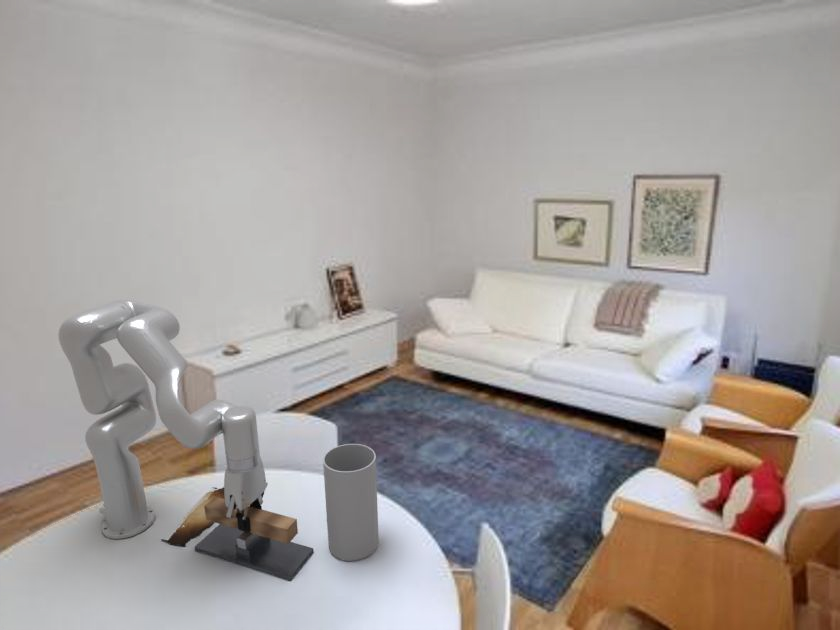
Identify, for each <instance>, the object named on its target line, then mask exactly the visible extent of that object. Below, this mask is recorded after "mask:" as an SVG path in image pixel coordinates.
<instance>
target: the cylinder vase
mask: <svg viewBox="0 0 840 630" xmlns="http://www.w3.org/2000/svg"><path fill="white" fill-rule="evenodd" d="M322 467H323V480H324V481H323V482H324V493H325V494H324V495H325V498H324V499H325V509H326V512H325V513H326V526H327V539H328V540H327V541H328V548H329V551H330V553H331V554H332V555H333V556H334V557H336V558H337V559H339V560H342V561H349V562H352V561H354V562H355V561H360V560H363V559H365V558H368V557H369V556H370V555H371V554H372V553H375V551H376V550H377V547H378V545H379V519H378V517H379V512H378V510H379V509H378V486H377V485H378V484H377V482H378V481H377V480H378V479H377V457H376V453H375V451H374V449H373V448H372V447H370V446H368V445H365V444H360V443H345V444H342V445H337V446H334V447H332V448H331V449H329V450H328V451H326V453H325V454H324V455H323V458H322Z"/></svg>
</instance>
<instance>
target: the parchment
mask: <svg viewBox="0 0 840 630" xmlns="http://www.w3.org/2000/svg"><path fill="white" fill-rule="evenodd" d="M212 489H214V490H213V491H210V492H206V493H205V494H204V495H203V496H202V497H201V498H200V499H199V500H198V501H197V502H196V503H195V504H194V505H193V507H191V509H190V510H189V511H187V513H186V514H185V515H184V516H183V522H181V524H180V526H179V527H177V529H175V531H174V532H173V533H172V534H171V536H170V537H169V538H168V539H163V538H162V539H161V540H162V541H163V542H166V543H167V544H170V545H171V546H172V545H173V546H180V547H186V546H187V544H188V543H190V541H191V540H194V539H196V538H197V539H198V538H199V537H200V536H201V534H203V532H204V531H206V530H207V529H210V527H211V526H212V525H213V523H214V522H212V521H209V520H206V515H205V508H204V506H205V505H206V504H207V503H209V502H210V501H211V500H212V499H213V498H215V497H218V498H222V499H225V495H224V486H222V487H221V488H218V487H212Z"/></svg>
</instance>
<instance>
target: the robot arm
mask: <svg viewBox="0 0 840 630" xmlns="http://www.w3.org/2000/svg"><path fill="white" fill-rule="evenodd" d="M180 330H181V327H180V323H179V320H178V319H177V317H176V316H175V315H174V314H173V313H172V312H171V311H170V310H168V309H166V308H163V307H160V306H157V305H153V304H148V303H145V302H141V301H135V300H131V299H123V300H122V299H121V300H116V301H113V302H109V303H106V304H104V305H100V306H96V307H92V308H90V309H88V310H84V311H81V312H79V313H76V314H73V315H72V316H70V317H69V318H67V319H65V320H64V321H63V322H62V323H61V325H60V327H59V329H58V342H59V345H60V347H61V350H62V351H63V353H64V355H65V357H66V358H67V360H68V362H69V364H70V366H71V371H72V374H73V377H74V380H75V383H76V384H75V385H76V387H77V390H78V395H79V398H80V400H81V403H82V406H83V407H84V409H85V410H86V411H87V412H88V413H89V414H91V415H94V416H95V415H97V416H98V415H103V414H105V413H108V412H110V413H108V414H106V415H104V416H102V417H100V418H99V419H97V420H96V421H94V422H93V423H92V424H91V425H90V426H89V427H88V428H87V430H86V431H85V435H84V436H85V438H84V439H85V440H84V441H85V444H86V446H87V448H88V451H89V452H90V454H91V456H92V459H93V462H94V466H95V469H96V473H97V478H98V482H99V488H100V491H101V492H100V493H101V497H102V502H103V505H102V507H100V509H99V511H98V512H99V514H102V515H104V518H105V520H104V521H103V523H102V525H101V531H102V534H103V536H105V537H106V538H108V539H113V540H121V539H126V538H132V537H133V536H136V535H138V534H140V533H142V532H144V531H145V530H147V529H149V527H151V526H152V525H153V523H154V522H155V518H156V512H155V509H154V508H152V507H150V506H148V505H147V499H146V494H145V488H144V483H143V478H142V472H141V467H140V461H139V458H138V457H137V455H136V454H135V453H133V452H131V451H130V449H129V448H130V446H131V445H132V444H134V443H135V442H136V441H138V440H140V439H141V438H143V437H144V436H146V435H147V434H149V433H150V432H151V431H153V429H154V428H155V426H156V423H157V416H156V415H157V414H156V410H155V405H154V401H153V398H152V394H151V390H150V385H149V382H148V379H150V381H151V382H152V384H153V385H154V387H155V403H156V407H157V412H158V416H159V418H160V420H161V422H162V424H163V426H164V427H165V428H166V429H167V431H169V433H170V434H171V435H172V436H173V437H174V438H175V439H176V440H177V441H178V442H179V443H180V444H181V445H182V446H184V447H186V448H188V449H191V450H197V449H202V448H203V447H205V446H206V445H207V444H209V443H210V442H212V441H213V440H214V439H215V438H218V436H219V435H222V436H223V445H224V452H225V453H224V454H225V461H226V469H225V471H224V480H223V482H224V483H223V484H224V485H223V487H224V495H225V505H226V507H228V512H227V515H226V516H227V517H229V518H237V522H238V529H239V530H241V531H244V532H248V533H249V532H250V531H251V530H250V521H249V517H247V507H248V506H250V507H254V508H258V509H262V507H263V506H262V505H263V503H264V500H263V498H264V495H265V491H266V488H267V487H268V481H267V480H266V479H267V477H266V473H265V472H266V471H265V467H264V463H263V460H262V457H261V454H260V453H261V452H260V443H259V441H260V440H259V433H258V424H257V422H258V421H257V415H256V412H255V410H254V409H253V408H251V407H249V406H245V405H243V406H239V405H238V406H237V405H235V404H233V403H230V402H229V401H226V400H223V399H213V400H212V401H210V402H208V403H206V404H205V405H203V406H202V407H200V408H199V409H197V410H196V411H194V412H192V413H191V414H190V413H189V412H188V411H187V409H186V408H185V406H184V405H183V403H182V402H181V398H180V395H179V385H180V381H181V379H182V377H183V375H184V374H185V373H186V371H187V370H188V361H187V360H186V359H185V358H184V357H183V356H182V354H181V353H180V352H179V351H178V350H177V349H176V347H175V345H173V344H172V343H171V341H172V340H174V339H175V338H177V336H179V333H180ZM116 339H117V342H118V344H119V345H120V346H121V347H122V349H124V351H125V352H126V353H127V355H129V357H131V359H132V360H133V361H134V362H135V363H136V364H137V365H135V364H134V363H130V362H129V363H127V362H126V363H121V364H120V363H119V364H117V365H115V366H114V364H113V360H112V356H111V355H110V352H108V351H107V349H105V348H104V347H103V346H102V344H104V343H105V344H106V343H108V342H111V341H113V340H116ZM147 377H148V379H147ZM120 406H121V407H120ZM119 407H120V408H119ZM116 408H117V409H116ZM115 409H116V410H115ZM112 410H113V411H112ZM262 510H263V509H262ZM240 511H242V513H240Z"/></svg>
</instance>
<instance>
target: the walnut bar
mask: <svg viewBox="0 0 840 630" xmlns="http://www.w3.org/2000/svg"><path fill="white" fill-rule="evenodd" d="M204 508H205V515H206V520H209V521H212V522H213V523H216V524H218V525H219V524H222V525H226V526H229V527H232V528H236V529H238V522H237V518H229V517H227V516H226V515H227V512H228V507H226V505H225V499H222V498H218V497H215V498H213V499H212V500H211V501H210V502H209V503H207V504H206V505H205V506H204ZM240 513H242V511H240ZM247 517H249V521H250V530H251V531H250V532H249V533H253V534H256V535H260V536H263V537H266V538H270V539H273V540H277V541H280V542H283V543H287V544H289V543H290V542H292V540H293V539H294V538H295V537H296V536H297V535H298V533H299V532H298V530H299V529H298V520H297V518H294V517H290V516H288V515H287V516H286V515H283V514H280V513H276V512H273V511H269V510H265V509H258V508H254V507H250V505H249V506H248V507H247Z"/></svg>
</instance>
